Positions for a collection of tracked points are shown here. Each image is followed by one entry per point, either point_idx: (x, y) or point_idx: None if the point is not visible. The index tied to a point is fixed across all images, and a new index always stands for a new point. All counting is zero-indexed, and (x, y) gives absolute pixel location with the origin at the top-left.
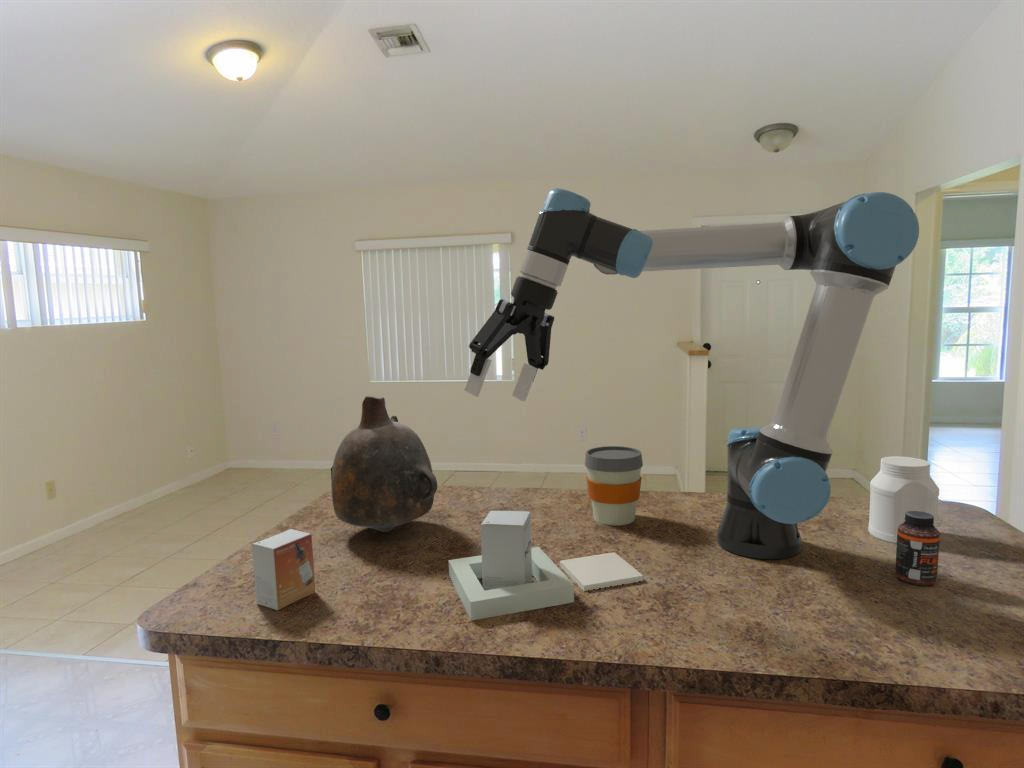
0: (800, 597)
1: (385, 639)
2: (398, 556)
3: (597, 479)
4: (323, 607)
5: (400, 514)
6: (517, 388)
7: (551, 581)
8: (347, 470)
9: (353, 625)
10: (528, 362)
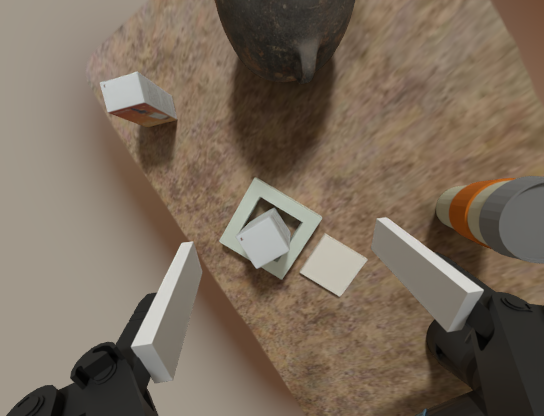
0: (377, 380)
1: (177, 213)
2: (256, 110)
3: (471, 213)
4: (171, 146)
5: (267, 78)
6: (390, 238)
7: (275, 265)
8: None
9: (172, 184)
10: (490, 300)
